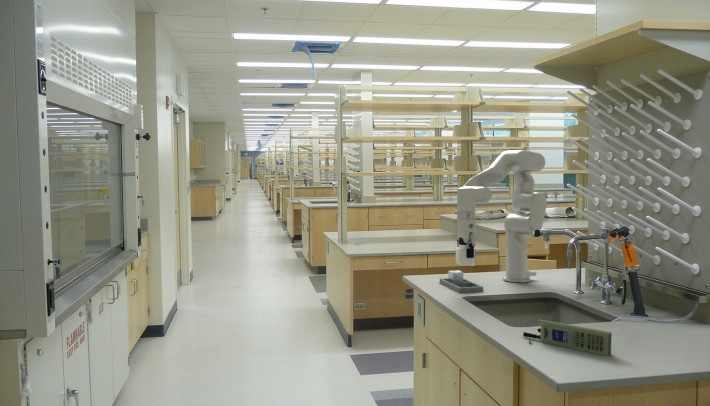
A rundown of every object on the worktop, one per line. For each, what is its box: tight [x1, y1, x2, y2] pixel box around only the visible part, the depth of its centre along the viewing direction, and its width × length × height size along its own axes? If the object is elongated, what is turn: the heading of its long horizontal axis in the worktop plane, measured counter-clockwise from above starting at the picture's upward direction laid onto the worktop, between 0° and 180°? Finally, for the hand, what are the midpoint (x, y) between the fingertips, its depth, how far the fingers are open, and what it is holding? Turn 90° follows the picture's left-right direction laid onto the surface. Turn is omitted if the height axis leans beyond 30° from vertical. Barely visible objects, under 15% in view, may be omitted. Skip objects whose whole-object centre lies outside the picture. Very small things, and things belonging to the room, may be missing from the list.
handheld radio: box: [522, 319, 613, 357], centre depth 153 cm, size 7×3×25 cm
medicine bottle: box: [455, 237, 477, 267], centre depth 225 cm, size 7×7×12 cm
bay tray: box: [439, 277, 484, 294], centre depth 231 cm, size 11×21×3 cm, turn 14°
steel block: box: [447, 269, 464, 283], centre depth 236 cm, size 5×5×6 cm
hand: (465, 256), depth 225 cm, fingers closed on medicine bottle, 8 cm apart
